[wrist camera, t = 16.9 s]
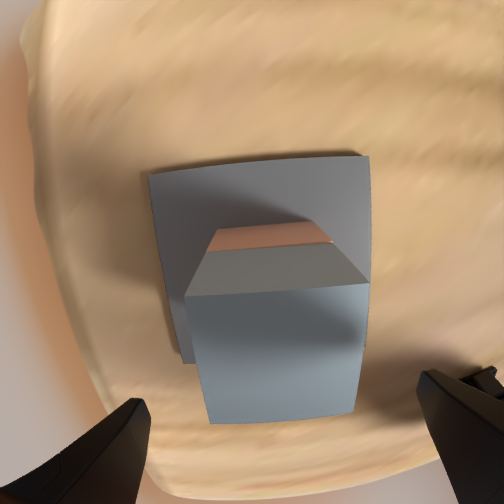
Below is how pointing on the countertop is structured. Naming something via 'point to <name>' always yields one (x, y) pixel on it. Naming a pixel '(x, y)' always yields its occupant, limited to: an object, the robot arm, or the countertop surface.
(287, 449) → the countertop surface
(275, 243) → the terracotta brick
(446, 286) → the countertop surface
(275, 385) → the slate-grey brick
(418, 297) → the countertop surface
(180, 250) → the base plate
